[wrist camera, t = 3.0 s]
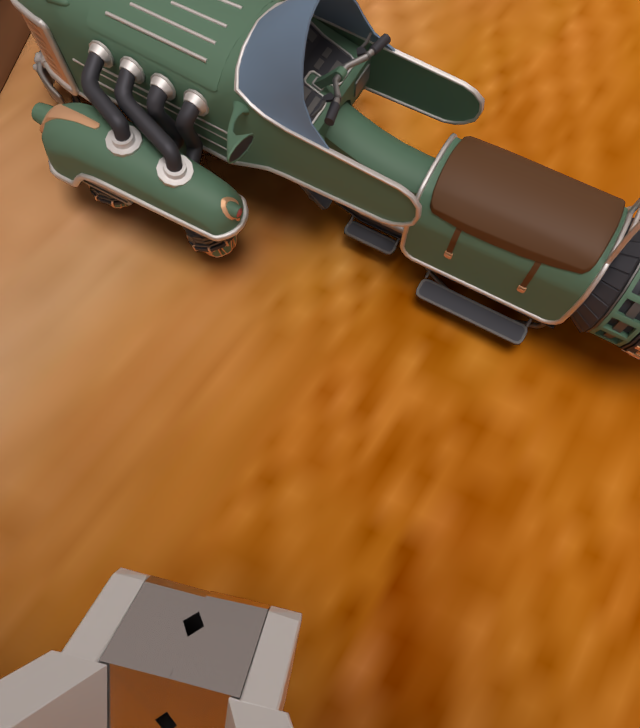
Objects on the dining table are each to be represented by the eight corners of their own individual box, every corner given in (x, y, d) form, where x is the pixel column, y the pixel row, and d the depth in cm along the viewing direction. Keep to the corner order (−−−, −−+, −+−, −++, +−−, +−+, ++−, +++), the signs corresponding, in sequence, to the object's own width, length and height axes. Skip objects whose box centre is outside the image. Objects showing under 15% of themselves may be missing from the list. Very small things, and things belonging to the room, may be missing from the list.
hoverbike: (138, -2, 25) (61, -258, 18) (721, 261, 22) (950, 83, 14) (-10, 165, 23) (-181, -53, 15) (628, 501, 19) (851, 447, 11)
